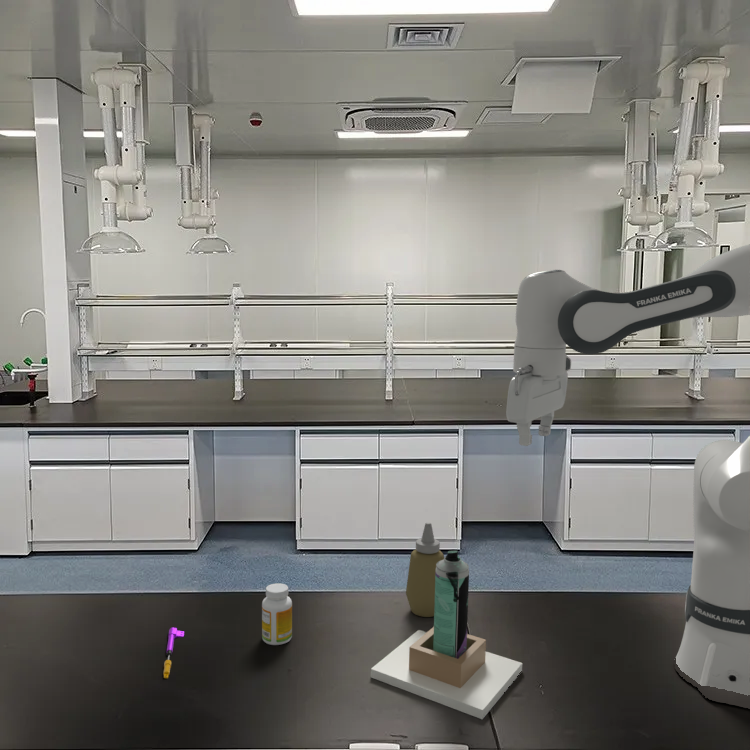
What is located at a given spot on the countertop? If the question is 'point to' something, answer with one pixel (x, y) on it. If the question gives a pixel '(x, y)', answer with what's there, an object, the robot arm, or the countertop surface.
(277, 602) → the supplement bottle
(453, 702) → the socket board
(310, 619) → the countertop surface
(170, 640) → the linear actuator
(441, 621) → the spray can
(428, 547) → the squeeze bottle
